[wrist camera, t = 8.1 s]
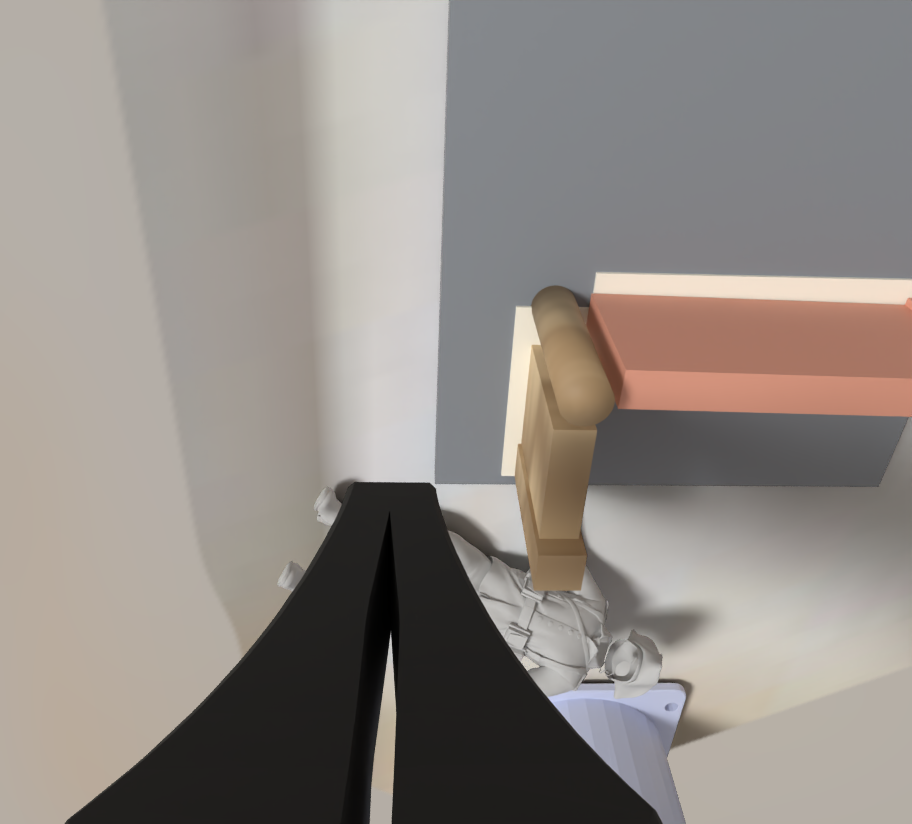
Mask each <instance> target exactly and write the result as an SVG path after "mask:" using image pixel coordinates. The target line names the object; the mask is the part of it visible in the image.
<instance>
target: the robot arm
mask: <svg viewBox="0 0 912 824" xmlns="http://www.w3.org/2000/svg"><path fill="white" fill-rule="evenodd" d="M390 634H391V638H392V653H393V668H394V683H395V699H396V737H395V761H394V783H393V807H392V824H686V823H685V819H684V816H683V812H682V809H681V805H680V802H679V798H678V795H677V791H676V788H675V785H674V781H673V778H672V774H671V771H670V768H669V764H668V761H667V756H668V753H669V750H670V747H671V744H672V741H673V738H674V734H675V731H676V728H677V725H678V722H679V719H680V716H681V713H682V709H683V706H684V703H685V700H686V693H685V690H684V687H683V686H682V685H680V684H678V683H657V684H656V685H655V686H653V687H652V688H651V689H650V690H649V691H648V692H646V693H645V694H643V695H641V696H638V697H634V698H620V699H615V698H614V691H615V683H595V684H580V686H579V687H578V689H577V690H576V691H573V690H571V691H568V692H566V693H562V694H559V695H555V696H550V697H547V696H546V695H545V694H544V693H543V691H542V690H541V689H540V688H539V687H538V685H537V684H536V683H535V681H534V680H533V679H532V677H531V676H530V675H529V673H528V672H527V670H526V669H525V668H524V666H523V665H522V664H521V662H520V661H519V660H518V658H517V657H516V655H515V654H514V652H513V651H512V649H511V648H510V647H509V645H508V644H507V642H506V641H505V639H504V638H503V636H502V635H501V633H500V631H499V630H498V628H497V627H496V625H495V623H494V622H493V620H492V619H491V617H490V615H489V613H488V612H487V610H486V608H485V606H484V605H483V603H482V601H481V599H480V598H479V596H478V594H477V592H476V590H475V589H474V587H473V585H472V583H471V581H470V579H469V577H468V575H467V573H466V571H465V569H464V567H463V564H462V562H461V560H460V558H459V556H458V554H457V552H456V550H455V547H454V545H453V543H452V540H451V538H450V535H449V533H448V530H447V527H446V525H445V522H444V519H443V516H442V513H441V510H440V506H439V503H438V498H437V493H436V488H435V487H434V486H432V485H431V484H430V483H395V482H354V483H353V484H352V485H351V486H350V487H348V489H347V492H346V495H345V498H344V500H343V503H342V505H341V507H340V510H339V512H338V514H337V516H336V518H335V520H334V522H333V524H332V526H331V528H330V530H329V532H328V534H327V536H326V538H325V540H324V541H323V543H322V545H321V547H320V548H319V550H318V552H317V553H316V555H315V557H314V559H313V560H312V562H311V564H310V565H309V567H308V569H307V570H306V572H305V574H304V575H303V577H302V578H301V580H300V581H299V583H298V584H297V586H296V587H295V589H294V590H293V592H292V593H291V595H290V596H289V597H288V599H287V600H286V602H285V603H284V605H283V606H282V608H281V609H280V611H279V612H278V613H277V615H276V616H275V618H274V619H273V620H272V622H271V623H270V624H269V626H268V627H267V628H266V629H265V631H264V632H263V633H262V635H261V636H260V637H259V638H258V640H257V641H256V642H255V643H254V645H253V646H252V647H251V648H250V649H249V651H248V652H247V653H246V654H245V656H244V657H243V658H242V659H241V660H240V661H239V663H238V664H237V665H236V666H235V667H234V668H233V669H232V670H231V671H230V673H229V674H228V675H227V676H226V677H225V678H224V679H223V680H222V681H221V683H220V684H219V685H218V686H217V687H216V688H215V689H214V690H213V691H212V692H211V693H210V695H209V696H208V697H207V698H206V699H205V700H204V701H203V702H202V703H201V704H200V705H199V706H198V707H197V708H196V709H195V710H194V711H193V712H192V713H191V714H190V715H189V716H188V717H187V718H186V719H185V720H183V721H182V722H181V723H180V724H179V725H178V726H177V727H176V728H175V729H174V730H173V731H172V732H171V733H170V734H169V735H167V737H165V738H164V739H163V740H162V741H161V742H160V743H159V744H158V745H157V746H156V747H155V748H154V749H153V750H151V752H149V753H148V754H147V755H146V756H145V757H144V758H143V759H142V760H140V761H139V762H138V763H137V764H136V765H135V766H133V767H132V768H131V769H130V770H129V771H127V772H126V773H125V774H124V775H123V776H121V777H120V778H119V779H118V780H116V781H115V782H114V783H113V784H111V785H110V786H109V787H108V788H107V789H105V790H104V791H103V792H102V793H100V794H99V795H98V796H97V797H95V798H94V799H93V800H92V801H91V802H89V803H88V804H87V805H86V806H84V807H83V808H82V809H81V810H79V811H78V812H77V813H76V814H74V815H73V816H72V817H70V818H69V819H68V820H67V821H66V823H65V824H369V823H370V802H371V782H372V772H373V761H374V752H375V745H376V737H377V730H378V723H379V715H380V708H381V701H382V693H383V686H384V678H385V671H386V664H387V656H388V649H389V641H390Z"/></svg>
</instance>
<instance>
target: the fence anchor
mask: <svg viewBox="0 0 912 824" xmlns="http://www.w3.org/2000/svg"><path fill="white" fill-rule="evenodd" d="M531 307H532V315H533V319H534V323H535V326H536V330H537V333H538V337H539V340H540V344H541V345H531V355H530V364H529V374H528V383H527V393H526V402H525V412H524V421H523V431H522V441H521V444H518V447H517V456H516V466H515V482H516V488H517V494H518V500H519V506H520V512H521V518H522V524H523V530H524V535H525V541H526V547H527V553H528V559H529V565H530V571H531V577H532V583H533V589H534V591H581V587H582V582H583V576H584V571H585V565H586V559H587V553H586V549H585V545H584V542H583V538H582V534H581V530H580V529H581V523H582V517H583V511H584V506H585V500H586V494H587V488H588V482H589V476H590V470H591V464H592V458H593V452H594V446H595V440H596V435H597V428H596V425H595V424H598V423H600V422H601V421H603V420H604V419H605V418H607V417H608V416H609V414H610V413H611V411H612V410H613V407H614V404H615V397H614V393H613V391H612V388H611V386H610V383H609V381H608V378H607V376H606V373H605V371H604V368H603V366H602V363H601V361H600V358H599V356H598V353H597V351H596V349H595V346H594V344H593V341H592V339H591V336H590V334H589V331H588V329H587V326H586V324H585V321H584V319H583V316H582V314H581V311H580V309H579V306H578V304H577V302H576V299H575V297H574V295H573V293H572V292H571V291H570V290H569V289H567V288H565V287H563V286H557V285H555V286H549V287H546V288H544V289H542V290H541V291H539V292H538V293H537V294H536V295H535V297H534V299H533V301H532V304H531Z"/></svg>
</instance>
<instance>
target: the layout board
mask: <svg viewBox="0 0 912 824" xmlns="http://www.w3.org/2000/svg"><path fill="white" fill-rule="evenodd" d="M555 285H557V286H563V287H565V288H567V289H569V290H570V291H571V292H572V293H573V295H574V297H575V299H576V302H577V304H578V306H579V309H580V311H581V314H582V316H583V319H584V321H585V324H586V323H587V317H588V311H589V305H590V299H591V293H593V294H621V295H648V296H676V297H703V298H730V299H758V300H785V301H812V302H840V303H867V304H894V305H905V303H906V301H907V299H908V298H912V0H449V18H448V51H447V84H446V117H445V150H444V183H443V216H442V249H441V282H440V315H439V348H438V381H437V414H436V447H435V484H516V482H515V466H516V456H517V447H518V444H521V441H522V431H523V421H524V412H525V402H526V393H527V383H528V374H529V364H530V355H531V345H541V344H540V340H539V337H538V333H537V330H536V326H535V323H534V319H533V315H532V307H531V304H532V301H533V299H534V297H535V295H536V294H537V293H538V292H539V291H541V290H542V289H544V288H546V287H549V286H555ZM907 419H908V417H902V416H865V415H828V414H790V413H753V412H716V411H679V410H641V409H618V407H617V405H616V402H615V404H614V407H613V410H612V411H611V413H610V414H609V416H608V417H607V418H605V419H604V420H603V421H601V422H600V423H598V424H595V425H596V428H597V435H596V440H595V446H594V452H593V458H592V464H591V470H590V476H589V482H588V485H692V486H850V487H879V484H880V482H881V480H882V477H883V475H884V473H885V470H886V468H887V466H888V463H889V461H890V459H891V457H892V454H893V452H894V450H895V447H896V445H897V443H898V440H899V438H900V436H901V433H902V431H903V429H904V426H905V424H906V422H907Z"/></svg>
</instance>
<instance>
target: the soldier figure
mask: <svg viewBox="0 0 912 824" xmlns="http://www.w3.org/2000/svg"><path fill="white" fill-rule="evenodd" d="M341 505H342V504H341V503H340V502H339V501H338V500H337V499H336V495H335V492H334V491H333V489H332V488H329V487H328V486H327V487H325V488H324V489H323V491H322V492H321V494H320V495H319V497H318V499H317V500H316V502H315V505H314V510H318V516H317V521H319V522H322V523H324V524H325V525H331V526H332V524H333V522H334V520H335V518H336V516H337V514H338V512H339V510H340V507H341ZM448 533H449V535H450V538H451V540H452V543H453V545H454V547H455V550H456V552H457V554H458V556H459V558H460V560H461V562H462V564H463V567H464V569H465V571H466V573H467V575H468V577H469V579H470V581H471V583H472V585H473V587H474V589H475V590H476V592H477V594H478V596H479V598H480V599H481V601H482V603H483V605H484V606H485V608H486V610H487V612H488V613H489V615H490V617H491V619H492V620H493V622H494V623H495V625H496V627H497V628H498V630H499V631H500V633H501V635H502V636H503V638H504V639H505V641H506V642H507V644H508V645H509V647H510V648H511V649H512V651H513V652H514V654H515V655H516V657H517V658H518V660H519V661H520V660H521V659H522V658H523V656H526V657H528V658H529V659H530V660H532V661H533V662H534V663H536V664H537V665H539V666H540V667H539V668H532V669H530V670H528V671H527V672H528V673H529V675H530V676H531V677H532V679H533V680H534V681H535V683H536V684H537V685H538V687H539V688H540V689H541V690H542V691H543V693H544V694H545V695H546V696H547V697H550V696H555V695H559V694H562V693H566V692H568V691H571V690H573V691H576V690H577V689H578V687H579V686H580V684H581V682H582V680H583V679H584V678H585V677H586V675H587V672H588V671H589V669H590V668H601V667H602V666H603V664H604V663H605V670H604V671H605V673H606V676H607V677H608V678H609V679H611V680H612V681H614V683H615V691H614V698H615V699H620V698H634V697H638V696H641V695H643V694H645V693H646V692H648V691H649V690H650V689H651V688H652V687H653V686H655V685H656V684H657V683H658V680H659V675H660V671H661V668H662V658H663V657H662V654H659V652H658V650H657V647H656V645H655V643H654V642H653V641H652V640H651V639H650V638H648V637H646V636H642V635H639V634H637V633H636V632H635V631H634V630H632V631H631V633H630V636H629V638H628V639H627V640H625V639H620V640H617V641H616V642H614V643H613V644H612V645H611V647H610V649H609V651H608V654H607V657H606V660H605V662H604V659H605V655H606V652H607V649H608V646H609V645H610V643H611V642H612V638H613V637H612V635H611V634H610V633H609V632H608V630H607V629H606V628H605V626H604V625H605V620H606V617H607V611H608V606H609V603H608V601H607V600H605V599H604V597H603V596H602V593H601V591H600V590H599V588H598V586H597V584H596V582H595V581H594V580H593V578H592V575H591V573H590V571H589V569H588V568H587V567H586V565H585V571H584V576H583V582H582V587H581V591H567V593H566V592H563V591H534V589H533V583H532V577H531V571H530V569H529V570H528V571H527V572H526V573H524V572H523V571H521V570H519V569H515V568H510V567H509V566H508V565H507V564H505V563H504V562H502V561H501V560H499V559H498V558H496V557H493V556H487V557H486V556H485V555H484V554H483V553H482V552H481V551H480V550H478V549H477V548H476V547H474V546H473V545H471V544H470V543H468V542H467V541H465V540H464V539H463V538H462V537H461V536H459V535H458V534H456V533H454V532H451V531H448ZM305 572H306V571H305V570H303V569H302V568H301V567H300V566H299V565H298V564H297V563H293V562H292V561H291V562H289V563H288V565H287V566H286V567H285V569H284V571H283V573H282V575H281V576H280V578H279V581H278V586H280V587H282V588H285V589H289V590H291V591H292V592H293V590H294V589H295V587H296V586H297V584H298V583H299V581H300V580H301V578H302V577H303V575H304V574H305ZM600 671H601V669H600ZM600 671H599V672H600ZM604 671H602V672H604ZM602 672H601V673H602ZM609 679H608V680H609Z"/></svg>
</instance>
